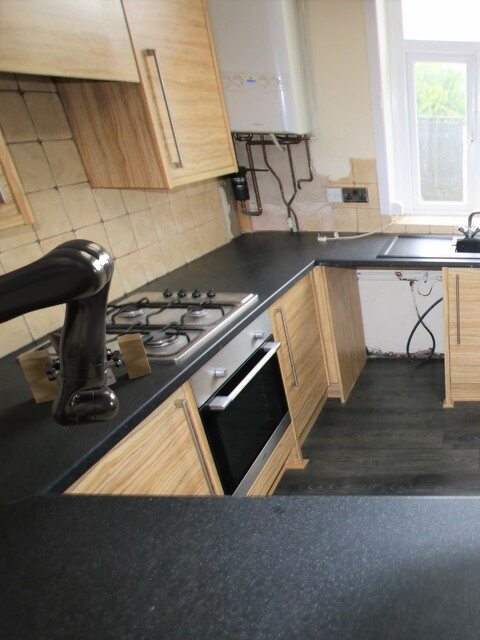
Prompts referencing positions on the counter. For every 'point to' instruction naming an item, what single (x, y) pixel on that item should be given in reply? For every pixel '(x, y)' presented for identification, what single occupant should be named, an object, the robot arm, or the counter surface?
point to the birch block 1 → (39, 375)
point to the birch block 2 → (134, 355)
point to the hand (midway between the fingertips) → (84, 354)
